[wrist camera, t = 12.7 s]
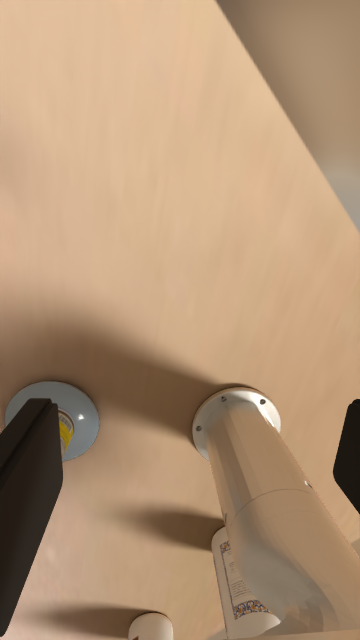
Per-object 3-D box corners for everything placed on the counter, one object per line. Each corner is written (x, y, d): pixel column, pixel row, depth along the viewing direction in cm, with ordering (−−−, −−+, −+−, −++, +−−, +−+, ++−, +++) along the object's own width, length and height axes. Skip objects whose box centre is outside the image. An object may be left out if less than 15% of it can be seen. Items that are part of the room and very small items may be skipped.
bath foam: (239, 559, 48) (293, 770, 29) (203, 548, 47) (234, 761, 28) (259, 529, 47) (331, 730, 27) (223, 517, 46) (270, 719, 26)
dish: (115, 435, 40) (114, 441, 39) (39, 468, 41) (35, 474, 39) (73, 364, 37) (70, 368, 36) (-10, 400, 37) (-15, 405, 36)
